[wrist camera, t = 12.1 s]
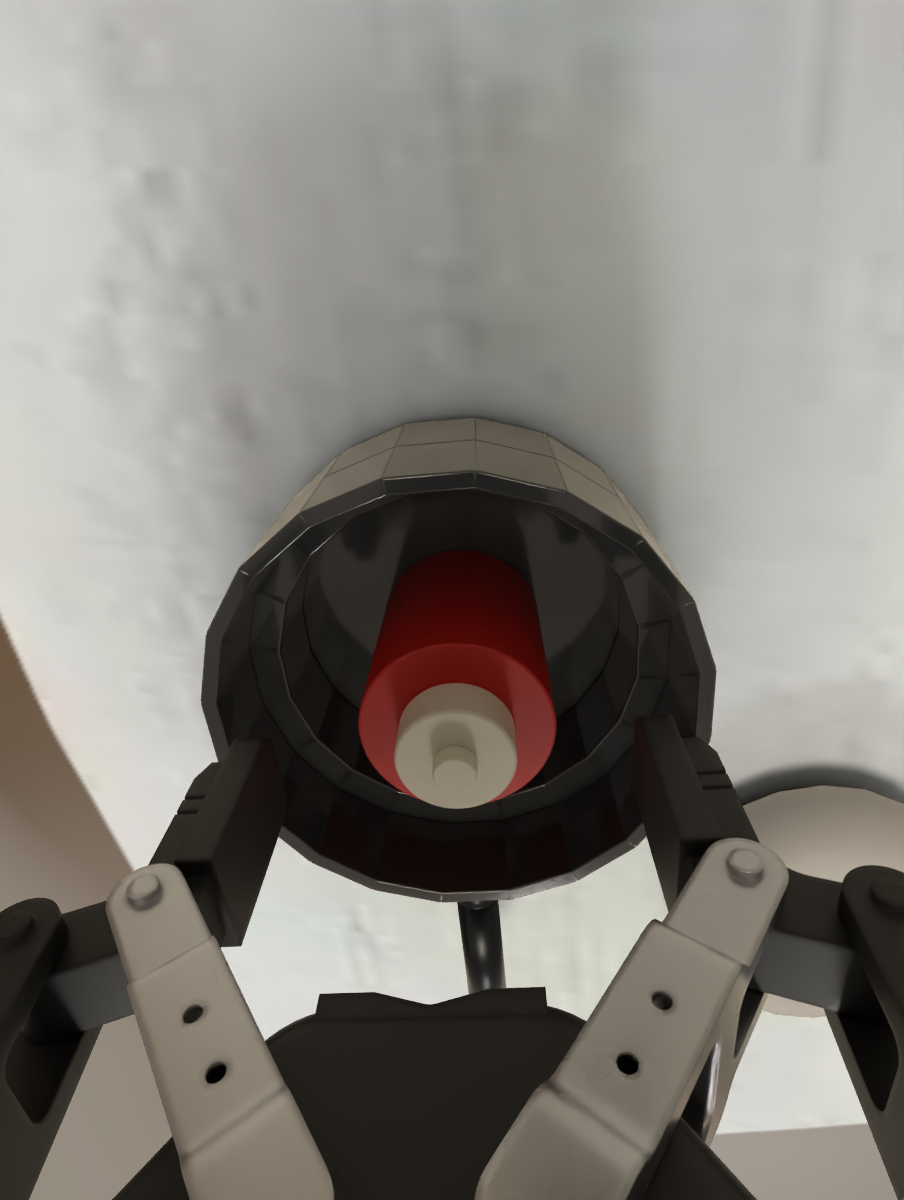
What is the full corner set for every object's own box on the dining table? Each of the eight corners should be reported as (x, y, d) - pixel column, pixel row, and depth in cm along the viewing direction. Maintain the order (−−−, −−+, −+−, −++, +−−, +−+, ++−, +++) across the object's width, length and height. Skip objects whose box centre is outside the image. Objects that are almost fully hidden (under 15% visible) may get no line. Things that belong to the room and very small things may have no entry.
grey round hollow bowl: (228, 435, 20) (139, 498, 15) (663, 396, 20) (735, 447, 14) (306, 774, 26) (261, 910, 20) (651, 755, 25) (699, 892, 19)
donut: (798, 985, 30) (994, 841, 26) (834, 1069, 27) (1063, 922, 23) (610, 890, 28) (791, 719, 24) (625, 970, 25) (836, 789, 21)
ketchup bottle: (375, 555, 21) (328, 692, 15) (534, 543, 21) (561, 677, 14) (396, 689, 23) (363, 862, 17) (541, 679, 23) (567, 853, 16)
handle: (455, 862, 21) (453, 895, 20) (495, 860, 21) (496, 893, 20) (475, 1025, 24) (475, 1061, 23) (510, 1024, 24) (512, 1060, 23)
